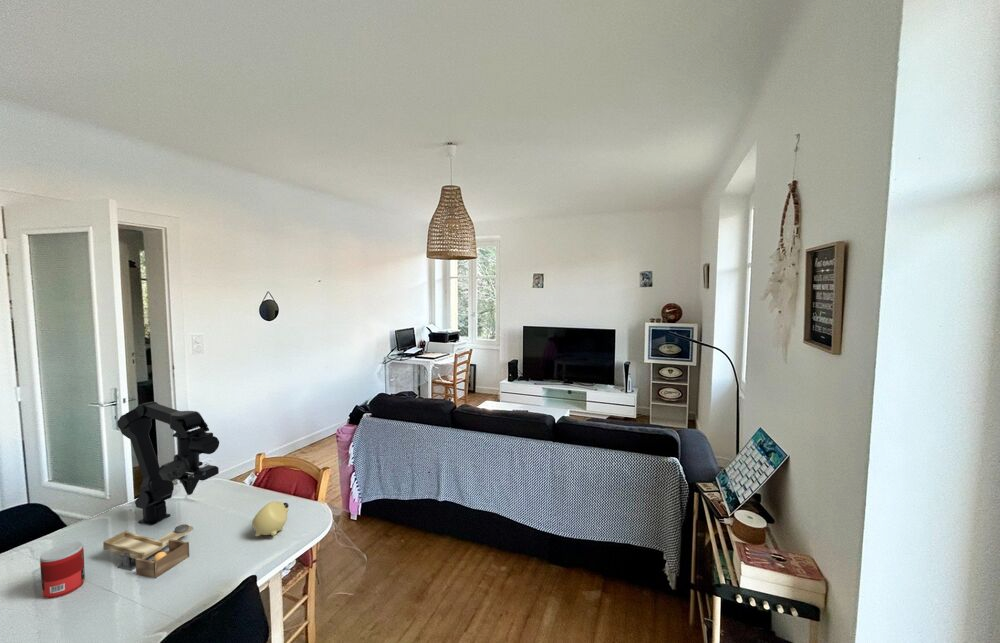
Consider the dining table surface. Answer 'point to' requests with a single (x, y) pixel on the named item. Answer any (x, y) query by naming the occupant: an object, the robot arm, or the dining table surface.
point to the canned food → (62, 569)
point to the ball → (159, 556)
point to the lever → (142, 542)
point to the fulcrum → (132, 561)
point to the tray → (163, 560)
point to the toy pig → (270, 518)
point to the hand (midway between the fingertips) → (189, 494)
